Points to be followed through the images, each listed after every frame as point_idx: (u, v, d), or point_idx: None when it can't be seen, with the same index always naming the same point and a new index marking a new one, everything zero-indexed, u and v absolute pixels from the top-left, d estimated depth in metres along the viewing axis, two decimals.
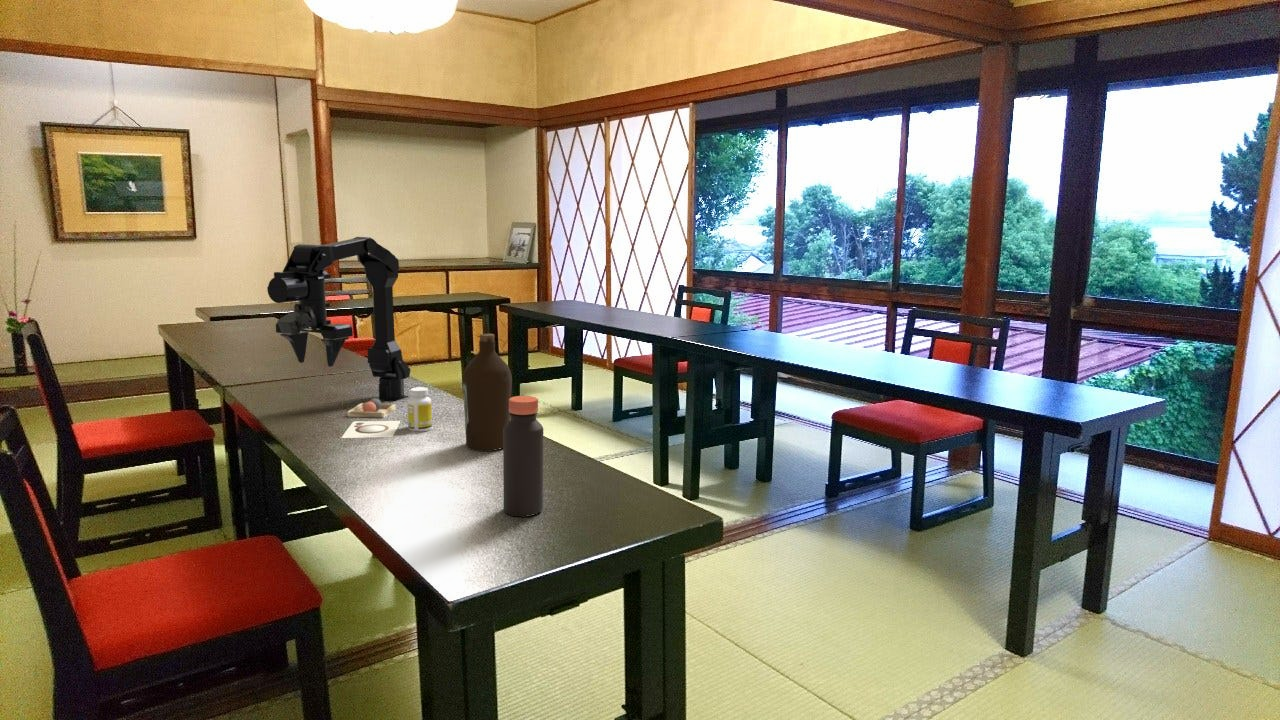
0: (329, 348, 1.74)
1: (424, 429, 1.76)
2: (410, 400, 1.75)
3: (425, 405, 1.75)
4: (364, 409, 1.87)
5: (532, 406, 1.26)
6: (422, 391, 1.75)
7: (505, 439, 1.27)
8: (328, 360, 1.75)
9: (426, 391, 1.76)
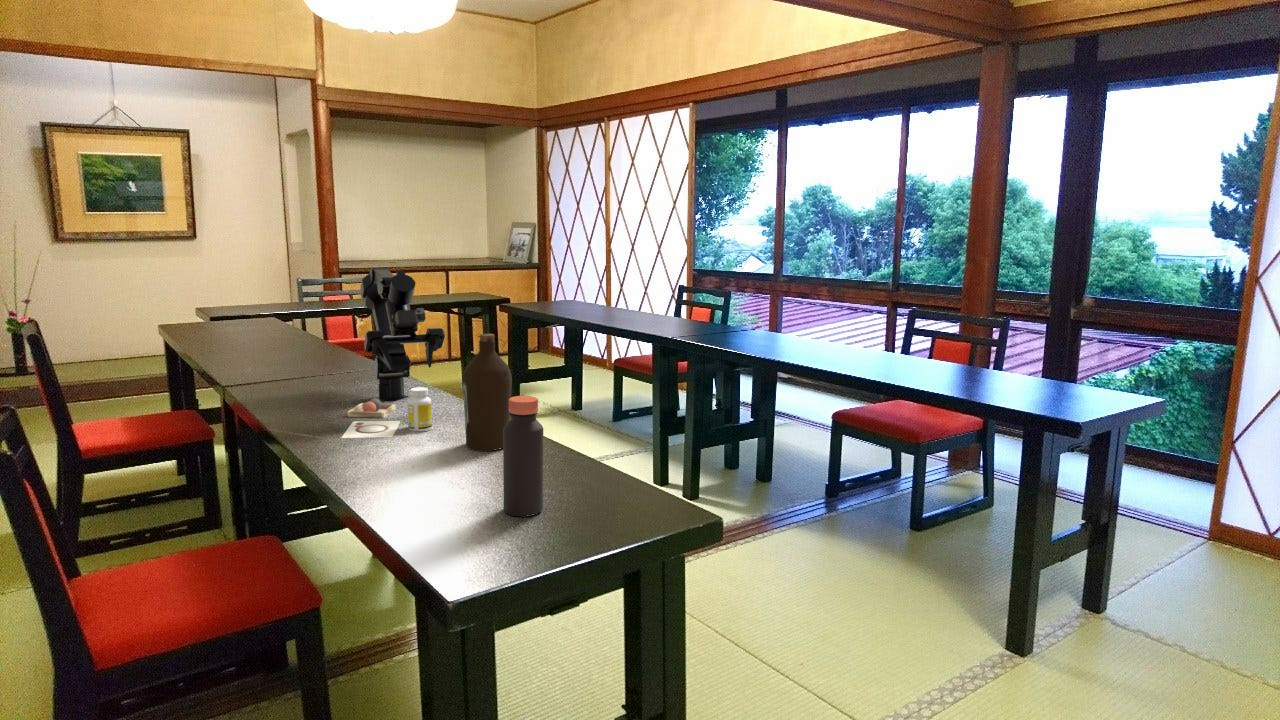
0: (433, 347, 1.87)
1: (424, 429, 1.76)
2: (410, 400, 1.75)
3: (425, 405, 1.75)
4: (364, 409, 1.87)
5: (532, 406, 1.26)
6: (422, 391, 1.75)
7: (505, 439, 1.27)
8: (430, 359, 1.85)
9: (426, 391, 1.76)
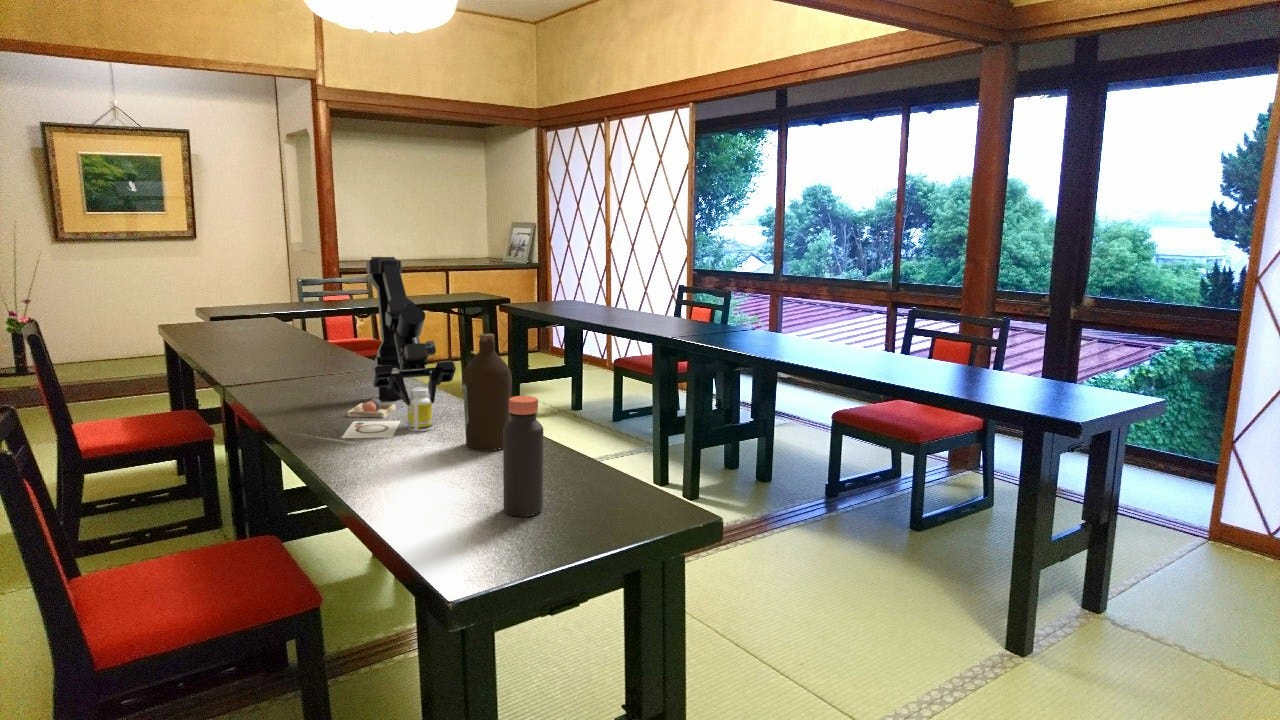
0: (436, 382, 1.79)
1: (424, 429, 1.76)
2: (410, 400, 1.75)
3: (425, 404, 1.75)
4: (364, 409, 1.87)
5: (532, 406, 1.26)
6: (422, 391, 1.75)
7: (505, 439, 1.27)
8: (433, 394, 1.78)
9: (426, 391, 1.76)
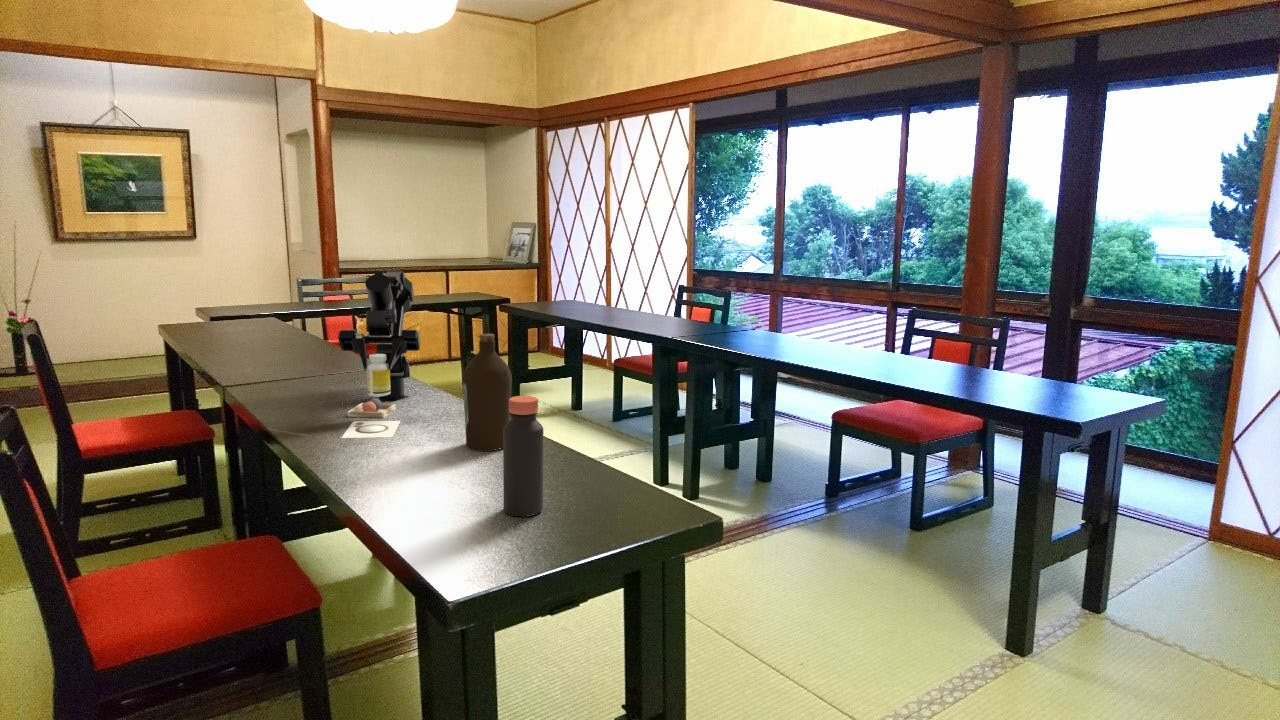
0: (396, 349, 1.84)
1: (379, 394, 1.82)
2: (367, 365, 1.82)
3: (379, 370, 1.81)
4: (364, 409, 1.87)
5: (532, 406, 1.26)
6: (377, 357, 1.81)
7: (505, 439, 1.27)
8: (390, 361, 1.82)
9: (382, 357, 1.81)
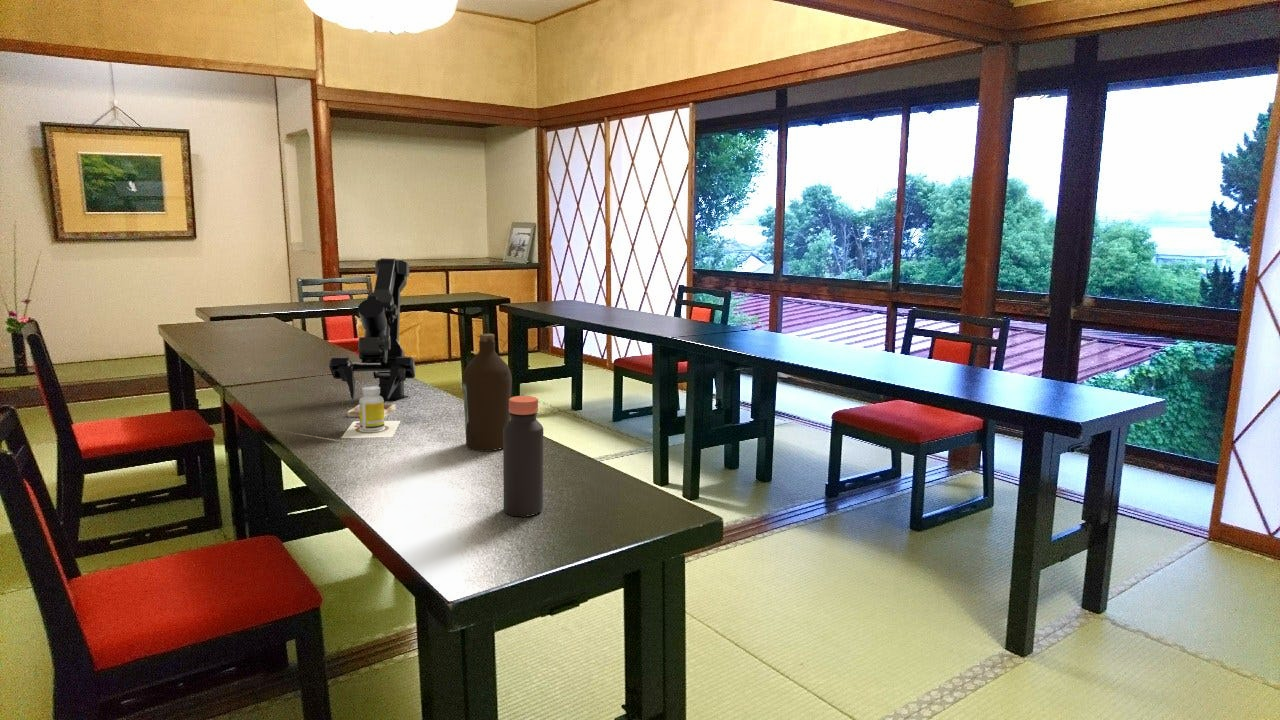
0: (394, 377, 1.76)
1: (372, 429, 1.74)
2: (360, 398, 1.74)
3: (372, 404, 1.73)
4: None
5: (532, 406, 1.26)
6: (370, 390, 1.73)
7: (505, 439, 1.27)
8: (388, 390, 1.74)
9: (376, 390, 1.73)
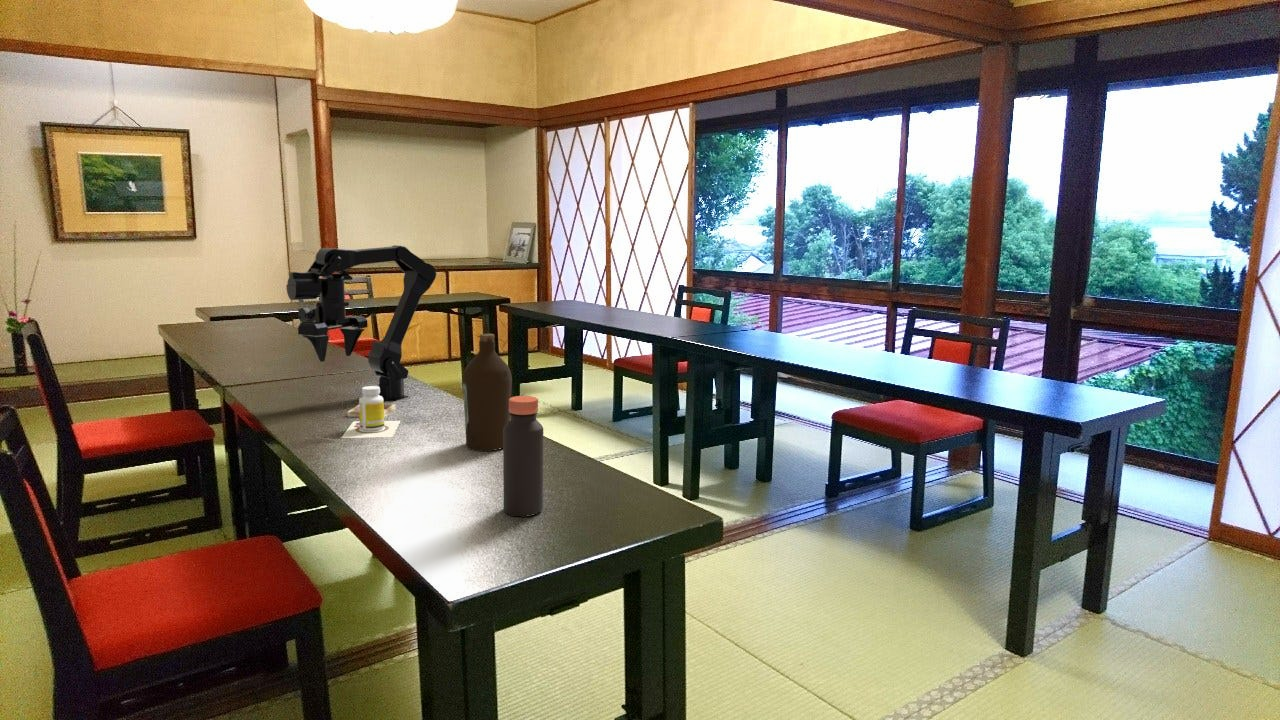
0: None
1: (372, 428, 1.74)
2: (360, 398, 1.74)
3: (372, 404, 1.73)
4: None
5: (532, 406, 1.26)
6: (370, 390, 1.73)
7: (505, 439, 1.27)
8: None
9: (376, 390, 1.73)
